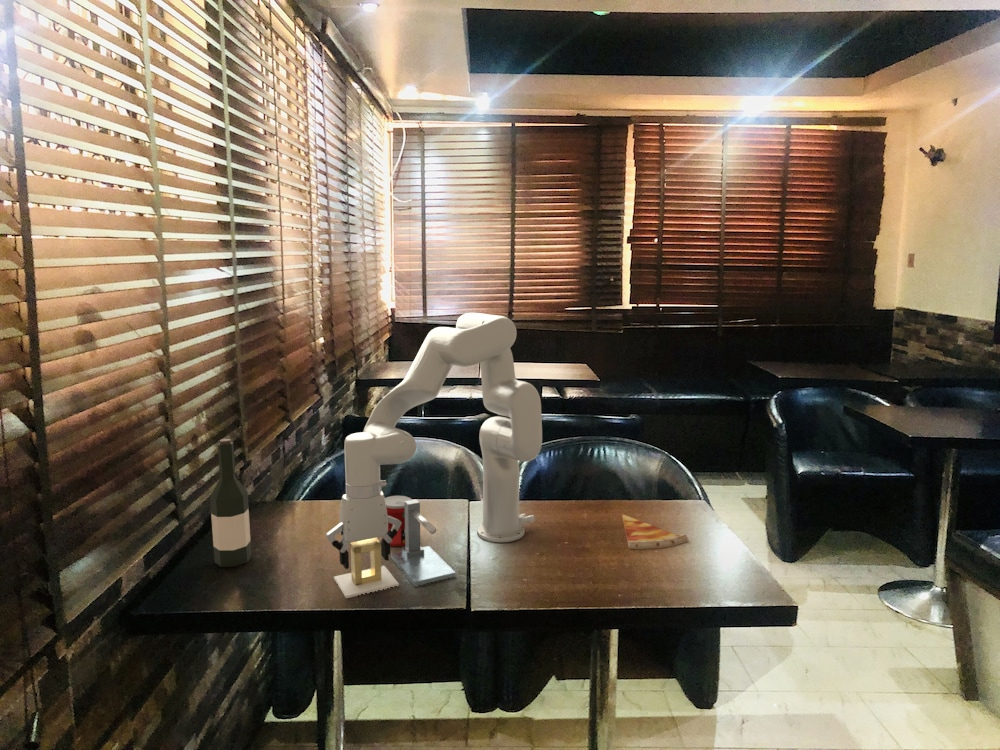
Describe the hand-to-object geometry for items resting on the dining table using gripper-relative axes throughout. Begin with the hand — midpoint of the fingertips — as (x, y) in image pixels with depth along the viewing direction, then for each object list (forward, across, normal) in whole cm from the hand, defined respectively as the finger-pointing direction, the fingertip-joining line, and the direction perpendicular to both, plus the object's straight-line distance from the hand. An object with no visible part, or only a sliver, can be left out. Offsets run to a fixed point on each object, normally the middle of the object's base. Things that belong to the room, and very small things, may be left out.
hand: (365, 562), depth 153 cm
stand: (+5, -14, -1) cm, 15 cm away
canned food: (+5, -14, -18) cm, 23 cm away
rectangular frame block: (+4, 0, 0) cm, 4 cm away
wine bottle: (+5, +25, -26) cm, 36 cm away
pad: (+5, 0, 0) cm, 5 cm away
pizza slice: (+6, -77, +8) cm, 78 cm away
